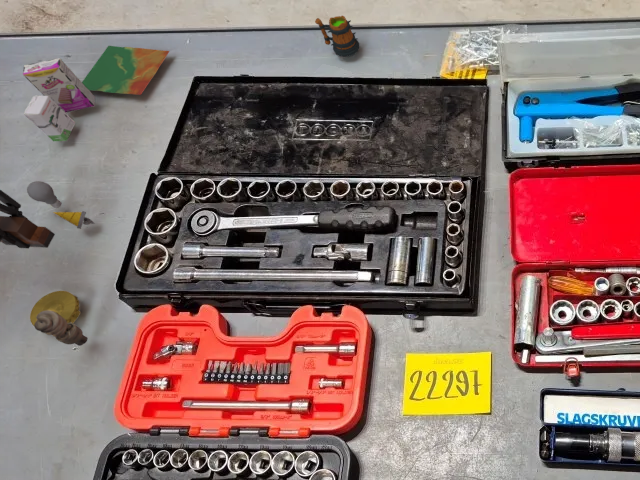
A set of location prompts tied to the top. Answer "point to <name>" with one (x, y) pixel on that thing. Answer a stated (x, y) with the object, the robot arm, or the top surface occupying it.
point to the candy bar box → (59, 84)
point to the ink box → (49, 118)
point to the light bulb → (43, 193)
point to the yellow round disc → (57, 306)
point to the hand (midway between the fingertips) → (29, 238)
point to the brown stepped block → (26, 231)
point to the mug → (340, 36)
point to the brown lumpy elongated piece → (59, 328)
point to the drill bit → (75, 218)
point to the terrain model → (124, 70)
